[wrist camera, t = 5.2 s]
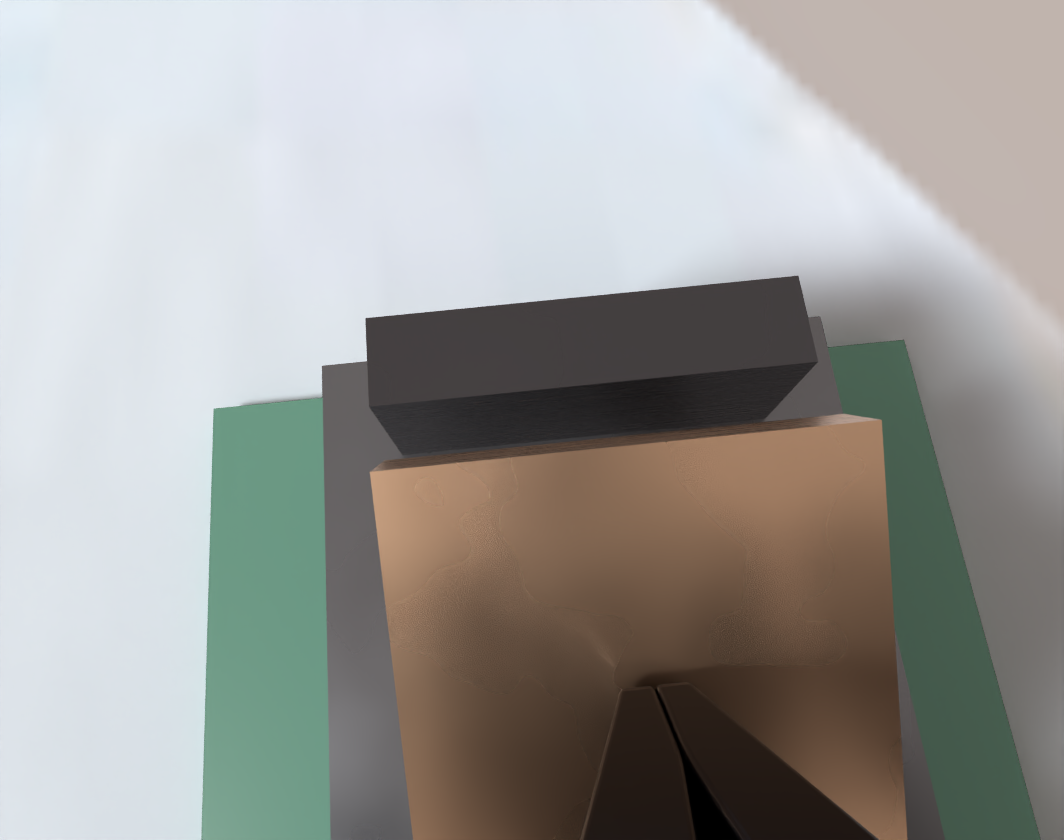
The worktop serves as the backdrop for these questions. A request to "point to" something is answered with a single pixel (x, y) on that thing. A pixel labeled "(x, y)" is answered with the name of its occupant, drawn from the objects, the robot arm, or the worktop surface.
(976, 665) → the board
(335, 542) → the grey open box
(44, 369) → the worktop surface
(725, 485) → the brown rectangular board
